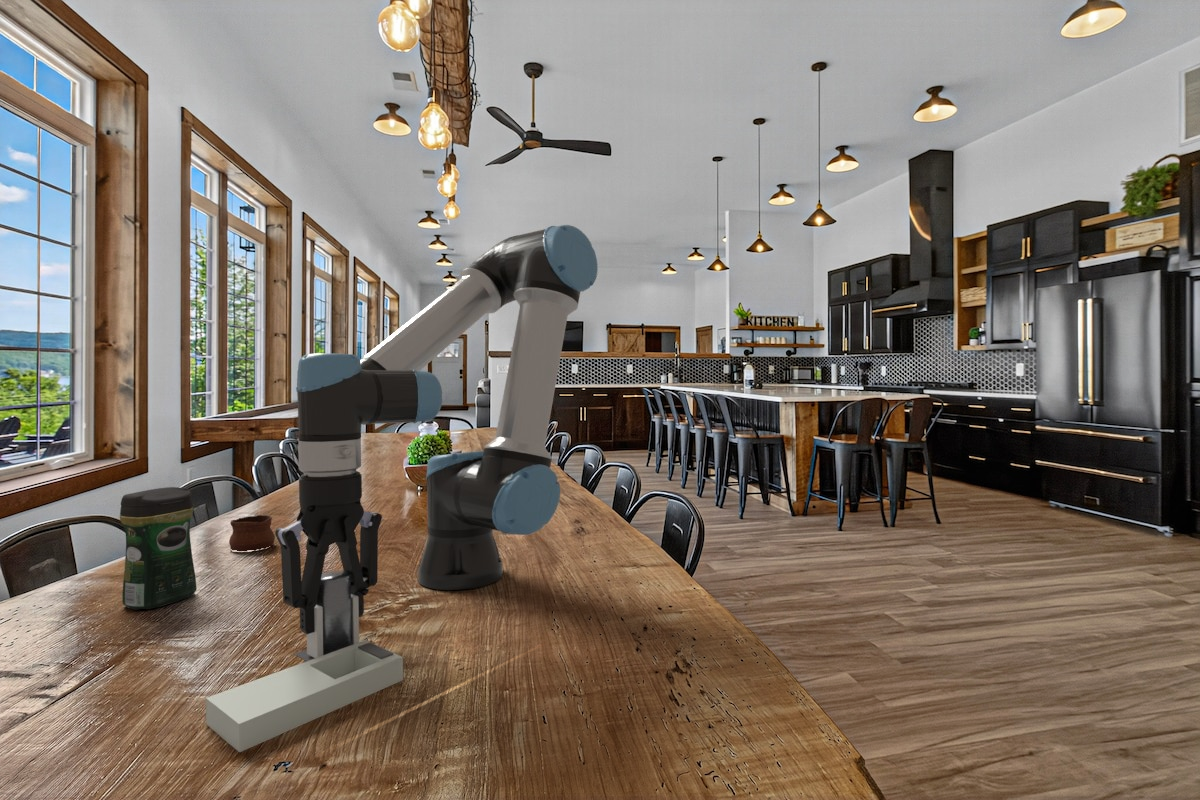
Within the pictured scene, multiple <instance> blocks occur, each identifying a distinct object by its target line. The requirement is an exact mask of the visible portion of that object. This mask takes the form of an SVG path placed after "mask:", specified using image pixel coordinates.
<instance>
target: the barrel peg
mask: <svg viewBox="0 0 1200 800" xmlns="http://www.w3.org/2000/svg"><path fill="white" fill-rule="evenodd" d="M316 605H319V606H322V607H323V655H326V654H329V653H331V652H334V651H337V650H340V649H342V648H345V647H348V646H351V645H352V635H351V573H350V572H347V571H344V570H332V571H328V572H322V576H321V582H320V587H319V592H318V598H317V603H316Z"/></svg>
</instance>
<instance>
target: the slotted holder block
mask: <svg viewBox="0 0 1200 800" xmlns="http://www.w3.org/2000/svg"><path fill="white" fill-rule="evenodd" d="M402 681H404V657H403V656H402V655H399V654H397V653H395V652H393V651H391V650H388V649H387V648H383V647H381V646H379V645H377V644H375V643H373V642H371V641H368V640H366V639H364V640H362V641H359V643H356V644H353V645H351V646H348V647H345V648H342V649H340V650H337V651H334V652H331V653H329V654H326V655H323V656H320V657H318V658H315V659H312V660H309V661H304V662H300V663H299V664H295V665H293V666H290V667H288V668H285V669H282V670H279V671H277V672H274V673H271V674H268V675H265V676H263V677H260V678H258V679H257V678H256V679H254V680H252V681H248V682H246V683H243V684H241V685H238V686H235V687H232V688H230V689H226V690H224V691H222V692H219V693H216V694H213V695H211V696H207V697H205V713H206V714H205V716H206V717H205V718H206V719H205V720H206V723H205V724H206V725H207V727H209V728H210V729H212V731H213V732H215V733H216V734H217V735H218V736H219V737H221V738H222V739H223V740H224V741H226V743H227V744H229V745H230V746H231V747H232V748H233V749H235V751H237V752H238V753H242V752H244V751H246V750H248V749H250V748H252V747H253V748H254V747H255V746H257V745H259V744H262V743H263V742H266V741H268V740H271V739H274V738H275V737H278V736H280V735H282V734H284V733H286V732H289V731H291V730H293V729H296V728H298V727H300V726H302V725H304V724H307V723H309V722H311V721H314V720H316V719H318V718H320V717H323V716H325V715H328V714H329V713H332V712H335V711H336V710H339V709H341V708H343V707H346V706H348V705H350V704H352V703H355V702H357V701H359V700H361V699H364V698H365V697H366V698H367V697H368V696H370V695H372V694H375V693H377V692H379V691H381V690H384V689H386V688H388V687H390V686H393V685H395V684H397V683H399V682H402Z"/></svg>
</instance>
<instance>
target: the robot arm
mask: <svg viewBox="0 0 1200 800" xmlns="http://www.w3.org/2000/svg"><path fill="white" fill-rule="evenodd" d="M598 267H599V266H598V259H597V255H596V252H595V249H594V247H593V245H592V242H591V241H590V239H589V238H588V237H587V235H586V234H585V233H584V232H583V231H582V230H581V229H579V228H577V227H576V226H573V225H570V224H562V225H557V226H556V225H550V226H548V227H546V228H543V229H540V230H535V231H531V232H527V233H522V234H519V235H518V234H517V235H512V236H510V237H508V238H505V239H503V240H501V241H500V242H498V243H496V244H495V245H493V246H492V247H490V248H489V249H488V250H487V251H485V252H484V253H483V254H482V255H481V256H478V258H476V259H475V260H474V261H473V262H472V263H471V264H469V265H468V266H466V267H465V268H463V269H462V271H460V273H459V276H458V281H457V282H455V284H453V285H452V286H450V287H449V288H448V289H447V290H445V291H444V292H443V293H442V294H440V295H439V296H438V297H437V298H435V299H434V300H433V301H432V302H431V303H430V304H428V305H427V306H425V307H424V308H423V309H422V310H420V311H419V312H418V313H417V314H416V315H414V316H413V317H412V318H411V319H409V320H408V321H407V322H405V323H404V324H403V325H402V326H400V327H399V328H398V329H397V330H395V331H394V332H393V333H391V335H389V336H388V337H386V339H384V340H383V341H382V342H380V344H378V345H377V346H375V347H374V348H373V349H371V350H370V351H369V352H368V353H367V354H365V355H364V356H363V357H362V358H360V357H359V356H357V355H356V354H352V353H351V354H347V353H331V352H330V353H325V352H324V353H322V352H321V353H320V352H317V353H307V354H304V355H303V356H301V357H300V358H299V361H298V363H297V365H298V366H297V367H298V368H297V376H296V377H297V378H296V387H295V390H296V394H297V395H296V396H297V421H298V422H297V423H298V444H297V445H298V470H299V471H300V472H301V473H303V474H301V475H300V477H299V478H298V496H299V498H298V500H299V502H298V503H299V507H300V509H299V512H298V514H297V515H298V516H297V517H296V521H295V522H293V523H291V524H290V525H288V526H287V527H278V528H277V529H276V530H275V531H274V535H275V538H276V539H277V541H278V544H279V545H280V546H279V547H280V553H281V554H280V557H281V578H282V581H281V582H282V598H283V599H282V600H283V603H284V604H285V605H287V606H289V607H292V608H293V609H298V608H299V629H300V631H301V633H303V634H306V649H307V654H308V655H310V656H312V657H314V658H318V657H320V656H323V607H322V606H319V605H316V603H317V598H318V592H319V587H320V582H321V576H322V573H323V570H324V565H325V560H326V555H327V554H328V553H329V549H330V545H331V546H332V545H333V544H335V545H336V546H337V549H338V552H339V556H340V560H341V565H342V569H343V570H342V571H347V572H350V573H351V635H352V645H353V644H356V643H359V642H360V620H359V619H360V618H361V617H363V615H364V613H365V609H364V608H365V606H364V605H365V602H364V601H365V598H364V596H366V595H367V594H369V588H370V587H374V586H376V585H377V584H378V557H379V552H378V551H379V546H378V545H379V543H378V542H379V528H380V526H381V522H382V519H383V515H382V514H381V513H379V512H374V511H365V509H364V507H363V505H362V503H361V499H362V496H363V485H362V484H363V480H362V478H363V477H362V475H363V474H362V473H361V472H359V471H357V470H358V469H360V468H361V467H362V439H361V438H362V426H364V425H372V424H373V425H374V424H376V425H377V424H380V425H381V424H404V423H413V424H416V423H418V422H428V421H431V420H433V419H435V418H436V417H437V415H438V414H439V412H440V410H441V408H442V405H443V388H442V385H441V382H440V380H439V378H438V377H437V376H436V375H435V374H433V373H432V372H430V371H425V370H424V371H423V369H424V367H426V366H427V365H428V364H429V363H431V361H433V360H434V359H435V358H436V357H437V356H438V355H440V354H441V353H442V352H443V351H444V350H445V349H447V348H448V347H449V346H451V344H452V343H454V342H455V341H456V340H457V339H458V338H460V336H461V335H463V334H464V333H465V332H467V330H469V329H470V328H471V327H472V326H473V325H475V323H477V322H478V321H479V320H480V319H482V317H483V316H485V315H486V314H494V313H496V312H498V311H499V310H500V309H501V308H502V307H503V306H506V305H507V304H510V303H512V302H515V301H516V302H517V304H518V305H519V311H518V317H517V322H516V327H515V331H514V337H513V341H512V347H511V353H510V359H509V364H508V369H507V374H506V380H505V385H504V390H503V395H502V402H501V405H500V406H501V407H500V411H499V416H498V422H497V427H496V433H495V437H494V439H492V440H491V441H490V442H489V443H487V444H486V445H484V447H483V450H478V451H477V450H475V451H474V450H473V451H465V452H456V453H448V454H438V455H432V456H431V457H430V458H429V460H428V461H427V466H426V475H425V480H426V499H427V500H426V501H427V502H426V504H427V505H426V506H427V508H426V509H427V510H426V511H427V539H426V542H425V546H424V549H423V553H422V555H421V556H422V557H421V560H420V563H419V565H418V569H417V579H418V580H417V582H418V583H419V584H420V585H421V586H423V587H425V588H428V589H432V590H433V589H434V590H441V591H459V590H470V589H476V588H481V587H484V586H485V587H486V586H489V585H491V584H493V583H496V582H497V581H499V580H501V578H502V577H503V573H504V571H503V560H502V558H501V557H500V556H501V555H500V552H499V550H498V546H497V543H496V540H495V536H494V533H493V530H495V531H498V532H501V533H502V534H505V535H506V534H508V535H519V536H524V535H525V536H527V535H531V534H534V533H537V532H538V531H540V530H541V529H543V527H545V526H544V525H547V524H548V523H549V522H550V521H551V520H552V518H553V517H554V515H555V513H556V511H557V509H558V506H559V502H560V498H561V485H560V482H558V480H559V479H558V475H557V474H556V473H555V471H554V470H553V469H552V468H551V465H552V458H553V457H552V456H551V454H550V452H549V451H548V450H547V448H546V443H547V437H548V430H549V424H550V419H551V413H552V406H553V401H554V396H555V390H556V384H557V378H558V373H559V367H560V361H561V356H562V349H563V346H564V345H563V344H564V340H565V339H564V338H565V334H566V333H565V332H566V326H567V322H568V321H567V320H568V316H569V315H570V314H572V313H574V312H575V311H577V310H578V307H579V302H580V296H581V292H584V291H587V290H588V289H590V288H591V286H593V285H594V283H595V282H596V280H597V276H598V270H599V269H598ZM358 525H360V532H359V535H360V536H359V537H360V538H359V554H358V549H357V545H358V541H357V535H356V532H355V530H356V528H358ZM301 532H303V534H304V535H305V536H306V537H307V540H306V546H305V550H306V556H305V562H304V566H303V570H302V565H301V564H302V563H301V561H302V560H301V548H300V543H299V541H301V539H302V537H301ZM302 571H303V572H302Z"/></svg>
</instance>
